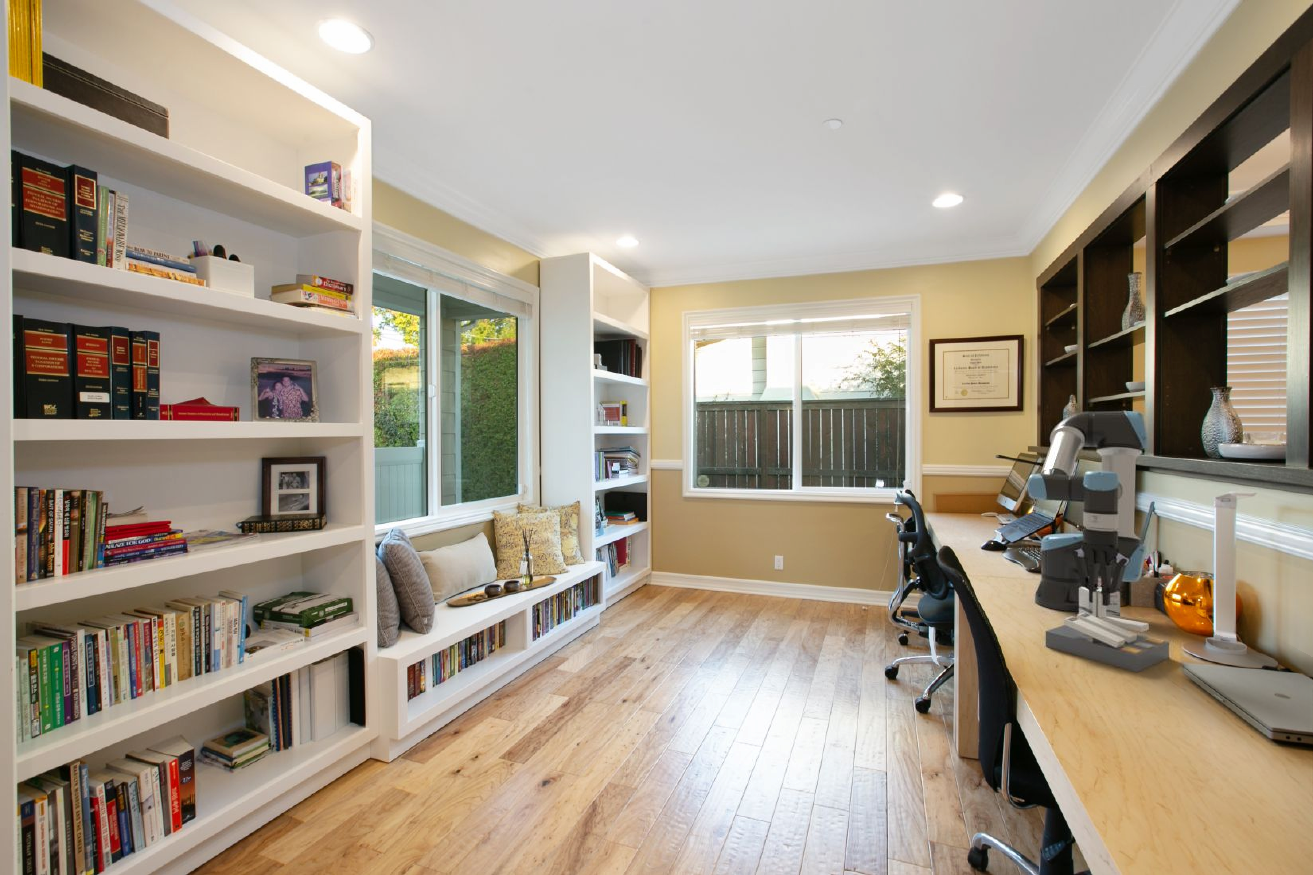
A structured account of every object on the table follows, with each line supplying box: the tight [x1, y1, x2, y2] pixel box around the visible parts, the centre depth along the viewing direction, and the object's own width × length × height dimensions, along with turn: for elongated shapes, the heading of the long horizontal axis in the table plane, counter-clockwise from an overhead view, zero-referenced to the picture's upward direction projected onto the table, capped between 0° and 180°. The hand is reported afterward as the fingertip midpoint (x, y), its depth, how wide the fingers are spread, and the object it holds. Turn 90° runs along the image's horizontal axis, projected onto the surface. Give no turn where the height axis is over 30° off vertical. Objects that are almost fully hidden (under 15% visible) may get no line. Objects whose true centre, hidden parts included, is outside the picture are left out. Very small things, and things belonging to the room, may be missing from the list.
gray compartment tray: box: [1045, 624, 1170, 673], centre depth 153 cm, size 18×20×5 cm
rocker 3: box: [1092, 615, 1150, 633], centre depth 156 cm, size 4×12×2 cm, turn 31°
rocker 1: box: [1063, 615, 1126, 648], centre depth 150 cm, size 4×12×2 cm, turn 31°
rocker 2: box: [1075, 612, 1138, 643], centre depth 153 cm, size 4×12×2 cm, turn 31°
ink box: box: [1078, 586, 1121, 619], centre depth 170 cm, size 9×5×12 cm, turn 84°
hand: (1099, 616), depth 160 cm, fingers closed, pressing on rocker 3
